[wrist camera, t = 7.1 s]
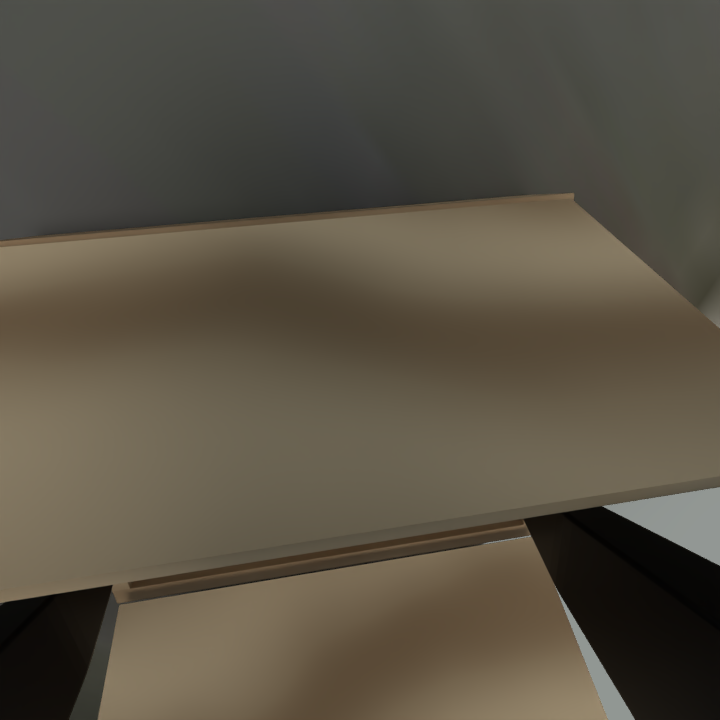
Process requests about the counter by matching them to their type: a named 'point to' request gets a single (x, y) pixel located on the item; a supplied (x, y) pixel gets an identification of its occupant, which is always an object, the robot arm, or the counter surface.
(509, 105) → the counter surface
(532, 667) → the flap far
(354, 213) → the carton
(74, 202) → the counter surface
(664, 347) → the flap near
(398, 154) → the counter surface
